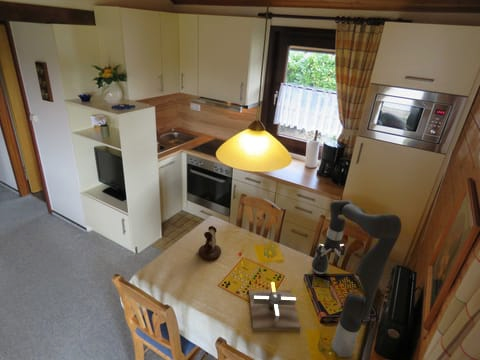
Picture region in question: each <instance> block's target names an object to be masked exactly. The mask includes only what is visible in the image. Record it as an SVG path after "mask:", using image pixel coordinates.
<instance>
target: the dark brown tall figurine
mask: <svg viewBox="0 0 480 360" xmlns="http://www.w3.org/2000/svg"><path fill="white" fill-rule="evenodd" d="M217 232H218V231H217V228H216V227H215V226H214V225H209V226H208V231H205V232H204V233H203V236H204V238H205V244H202V245H201V246H200V247H199V249H198V254H199V255H198V256H199V257H201V258H202V259H204V260H208V261H215V260H216V259H218V258H219V257H220V256H221V255H222V249H221V247H220V246H219V245H217V237H216V233H217Z"/></svg>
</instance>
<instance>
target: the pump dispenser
mask: <svg viewBox="0 0 480 360" xmlns="http://www.w3.org/2000/svg"><path fill="white" fill-rule="evenodd" d="M316 250H317V248H316V249H314V252H316ZM322 253H323V252H322ZM318 257H319V255H317V253H316V254H315V255H314V257H313V259H312V262H311V269H312V270H313V272H314V273H316V274H317V275H323V274H324V275H325V274H326V273H327V271H328V269H329V264H330V263H329V256H328V253H326V254H324V255H323V258H322V262H320V261H319V259H318Z"/></svg>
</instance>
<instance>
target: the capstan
mask: <svg viewBox="0 0 480 360" xmlns="http://www.w3.org/2000/svg"><path fill="white" fill-rule="evenodd" d="M275 286H276V285H275V282H274V281H271V282H270V286H269V287H270V288H269V289H270V290H271V293H270V294H269V296H254V300H253V304H268V305H269V309H270V310H271V311H273V312H274V319H275V321H279V310H278V306H279V305H295V306H296V303H297V298H296V297H295V296H294V297H293V296H292V297H281V295H280V294H279V293H278V292H276V287H275Z"/></svg>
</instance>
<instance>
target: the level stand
mask: <svg viewBox="0 0 480 360" xmlns="http://www.w3.org/2000/svg"><path fill="white" fill-rule="evenodd" d="M275 290H276V289H275ZM276 292H278V293H279V294H280V295H281V297H293V294H292V293H293V292H292V290H290V289H289V290H283V289H282V290H280V289H277V290H276ZM270 293H271V289H270V290H269V289H268V290H267V289H266V290H265V289H264V290H262V289H261V290H259V289H257V290H255V289H253V290H251V289H250V290H248V298H249V299H248V300H249V306H250V308H249V309H250V315H251V316H250V317H251V324H252V331H301V329H302V327H301V324H300V321H299V320H300V319H299V316H298V313H297V309H296V304H295V305H279V306H278V310H279V321H275V319H274V312H273V311H271V310H270V309H269V305H268V304H253V300H254V296H269V294H270Z"/></svg>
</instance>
